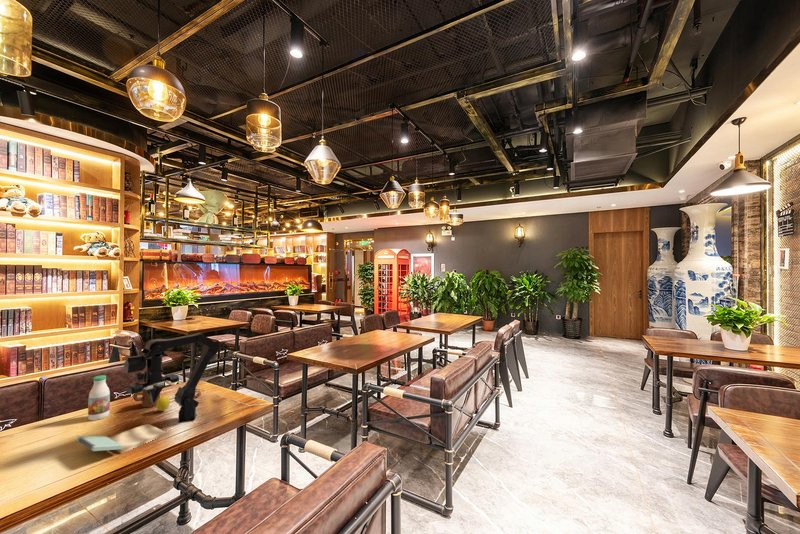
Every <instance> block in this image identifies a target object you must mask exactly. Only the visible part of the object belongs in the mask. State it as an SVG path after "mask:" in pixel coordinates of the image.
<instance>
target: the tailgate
mask: <svg viewBox="0 0 800 534" xmlns="http://www.w3.org/2000/svg"><path fill="white" fill-rule="evenodd" d="M108 437H109V436H108ZM108 437H107V436H106V435H84V436H83V435H82V436H80V435H79V436H77V437H76V439H75V440H76V441H77V443H79V444H80V445H82V446H83V447H84V448H87V450H89V451H91V452H98V451H99V452H102V451H113V450H114V451H116V449H121V447H122V445H120V444H118V443H116V442H115V441H113V440H111V439H110V438H108Z"/></svg>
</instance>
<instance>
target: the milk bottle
mask: <svg viewBox="0 0 800 534" xmlns="http://www.w3.org/2000/svg"><path fill="white" fill-rule="evenodd" d="M106 381H107V375H104V374H103V375H97V376H94V377H93V385H92V387H91V390H90V391H89V394H88V402H87V403H88V405H87V407H88V408H87V419H88V420H89V421H97V420H98V419H99V420H101V419H105V418H108V417H109V416H110V411H111V410H110V408H111V407H110V402H111V398H110V397H111V394H110V393H111V392H110V388H109V387H108V384H107V382H106Z"/></svg>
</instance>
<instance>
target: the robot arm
mask: <svg viewBox="0 0 800 534" xmlns="http://www.w3.org/2000/svg"><path fill="white" fill-rule="evenodd" d="M194 343H198V344H199V345H200V346H202V348H201V350H200V351H201V353H200V357H199V359H198V361H197V362H196V365H195V367H194V369H193V370H192V373H190V376H189V377H188V380H187V381H186V383H185V385H183V386H182V387H181V386H179V387H178V388H177V390H176V393H175V394H174V401H175V403H177V404H178V405H179V407H180V408H179V411H178V418H177V419H178V423H184V422H192V421H195V420H196V418H197V416H198V414H197V408H198V405H199V403H200V402H199V401H197V400H196V399H195V398H194V396H195V391H196V389H197V386H198V384H199V382H200V380H201V378H202V377H203V374H204V372H205V371H206V368H207V367H208V365H209V363H210V362H211V359H212V358H214V357H215V356H216V355H217V354H218V352H220V350H221V343H220V342H219V341H217V340H213V339H212V338H209V337H207V336H206V335H205V334H203V333H200V332H196V333H193V334H188V335H184V336H179V337H172V338H159V339H158V338H156V339H150V340H148V341H147V342H146V343H145V345H144V347H143V348H142V351H141V352H140V353H138V355H134V356H127V357H125V361H124V364H123V371H124V374H130V373H135V372H138V373H135V375H134V381H135V383H131V384H127V386H126V387H125V393H129V394H131V395H134V394H135V393H138V392H141V391H143V390H144V391H146V392H147V393H148V395H149V397H150V399H151V401H152V403H153V402H155V401H156V399H157V397H158V395H159V394H160V395H161V393H162V390H163V389H164V388H165V387H166V386H167V385H165V383H169V382H170V383H172V384H174V383H178V382H179V381H180V376H179V375H178V374H175V373H172V374H167V375H164V376H163V373H164V369H163V358H166V357H168V356H169V355H168V354H167V353H166V351H168V350H170V349H172V348H173V349H174V348H175V347H181V346H185V345H190V344H194ZM141 371H143V372H144V373H142V372H141ZM138 381H139V382H138Z"/></svg>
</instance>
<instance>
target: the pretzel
mask: <svg viewBox="0 0 800 534" xmlns="http://www.w3.org/2000/svg"><path fill="white" fill-rule="evenodd" d="M201 392H202V391H201V390H200V389H199V388H196V391H195V396H194V399H196V397H197V398H199V397H200V396H201Z"/></svg>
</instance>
